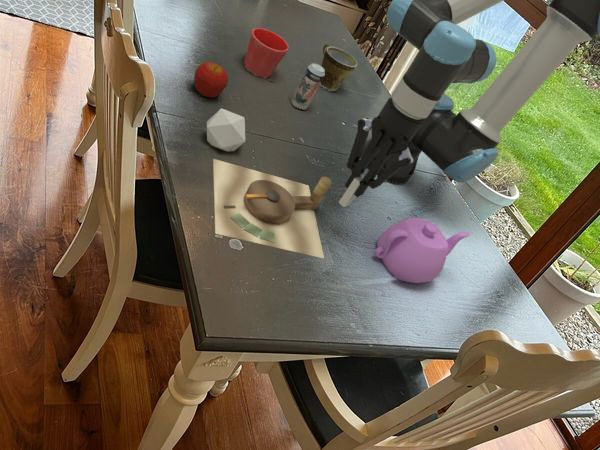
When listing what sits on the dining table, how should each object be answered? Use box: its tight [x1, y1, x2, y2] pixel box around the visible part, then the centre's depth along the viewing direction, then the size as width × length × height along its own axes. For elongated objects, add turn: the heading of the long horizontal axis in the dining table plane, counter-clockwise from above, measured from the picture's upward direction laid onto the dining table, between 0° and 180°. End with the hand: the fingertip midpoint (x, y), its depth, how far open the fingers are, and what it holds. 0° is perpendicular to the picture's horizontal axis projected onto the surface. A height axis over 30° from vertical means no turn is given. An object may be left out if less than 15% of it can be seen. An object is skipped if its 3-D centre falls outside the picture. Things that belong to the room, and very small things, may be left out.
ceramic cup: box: [321, 44, 358, 91], centre depth 169 cm, size 13×10×10 cm
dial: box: [244, 176, 333, 224], centre depth 115 cm, size 18×10×7 cm, turn 119°
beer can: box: [291, 62, 325, 110], centre depth 151 cm, size 5×5×12 cm
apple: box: [194, 61, 229, 98], centre depth 136 cm, size 8×8×8 cm
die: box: [206, 107, 246, 152], centre depth 123 cm, size 8×9×10 cm
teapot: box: [374, 217, 471, 284], centre depth 120 cm, size 20×13×12 cm, turn 110°
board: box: [212, 158, 325, 260], centre depth 115 cm, size 22×22×1 cm
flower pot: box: [243, 27, 290, 78], centre depth 156 cm, size 11×11×10 cm
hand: (344, 203), depth 116 cm, fingers closed
